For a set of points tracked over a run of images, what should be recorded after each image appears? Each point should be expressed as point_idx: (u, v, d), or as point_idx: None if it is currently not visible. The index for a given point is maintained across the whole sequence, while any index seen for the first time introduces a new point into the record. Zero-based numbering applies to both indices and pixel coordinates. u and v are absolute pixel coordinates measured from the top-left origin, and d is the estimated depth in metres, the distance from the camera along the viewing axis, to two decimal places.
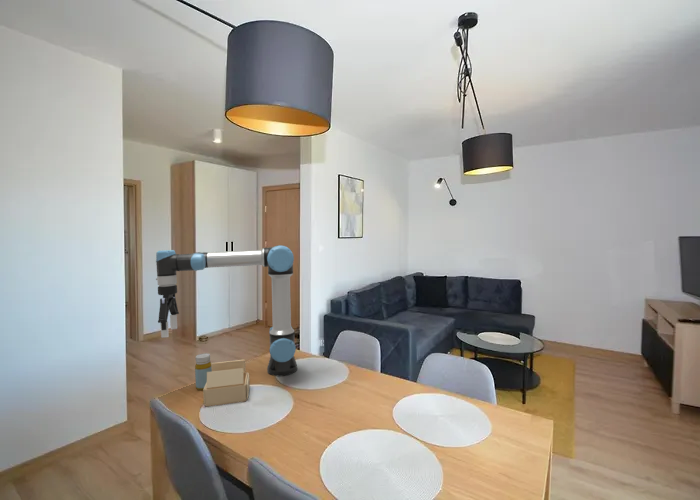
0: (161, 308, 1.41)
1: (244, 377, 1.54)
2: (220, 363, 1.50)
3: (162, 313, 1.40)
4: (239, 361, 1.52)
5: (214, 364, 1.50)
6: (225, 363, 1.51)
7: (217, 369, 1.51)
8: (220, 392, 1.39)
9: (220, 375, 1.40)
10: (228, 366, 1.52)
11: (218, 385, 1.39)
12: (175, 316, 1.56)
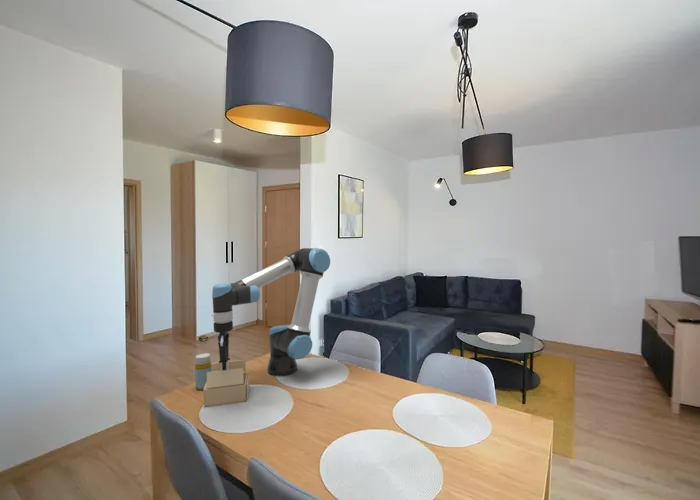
0: (221, 351, 1.37)
1: (244, 377, 1.54)
2: (220, 363, 1.50)
3: (222, 355, 1.37)
4: (239, 361, 1.52)
5: (214, 364, 1.50)
6: None
7: (217, 369, 1.51)
8: (220, 392, 1.39)
9: (220, 375, 1.40)
10: (228, 366, 1.52)
11: (218, 385, 1.39)
12: None
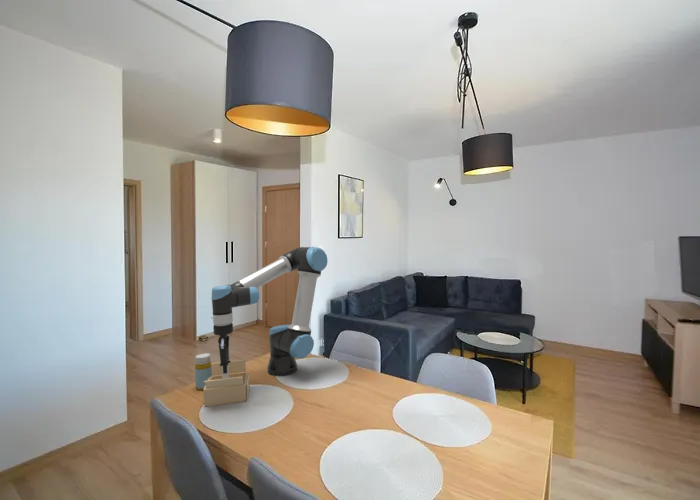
0: (221, 354, 1.35)
1: (244, 377, 1.54)
2: (220, 363, 1.50)
3: (223, 358, 1.35)
4: (239, 361, 1.52)
5: (214, 364, 1.50)
6: None
7: (217, 369, 1.51)
8: (220, 392, 1.39)
9: (218, 382, 1.36)
10: None
11: (218, 386, 1.39)
12: None
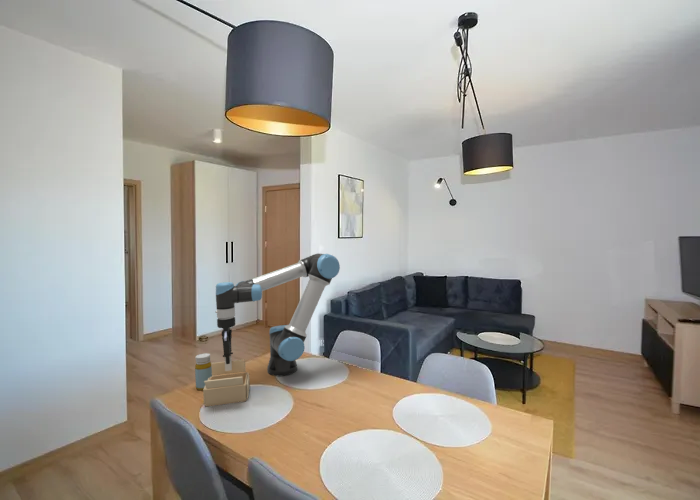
0: (224, 345, 1.45)
1: (244, 377, 1.54)
2: (220, 363, 1.50)
3: (226, 350, 1.45)
4: (239, 361, 1.52)
5: (214, 364, 1.50)
6: None
7: (217, 369, 1.51)
8: (220, 392, 1.39)
9: (218, 382, 1.36)
10: None
11: (218, 386, 1.39)
12: None
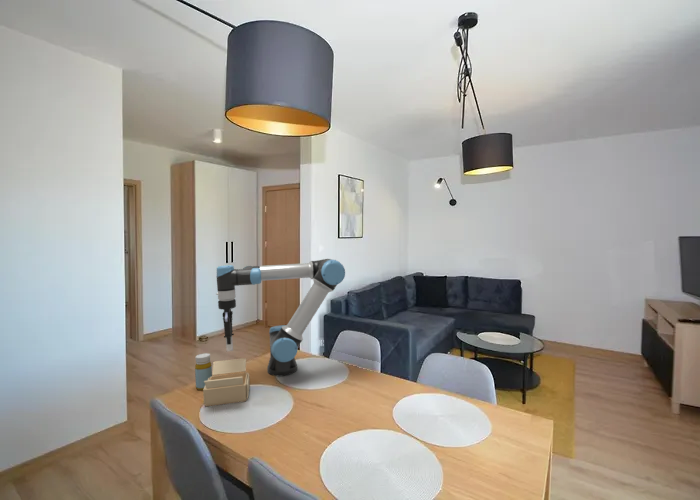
0: (225, 326, 1.49)
1: (244, 377, 1.54)
2: (222, 361, 1.56)
3: (227, 330, 1.50)
4: (240, 359, 1.58)
5: (216, 362, 1.55)
6: (227, 361, 1.56)
7: (218, 367, 1.54)
8: (220, 392, 1.39)
9: (218, 382, 1.36)
10: (229, 365, 1.55)
11: (218, 386, 1.39)
12: None
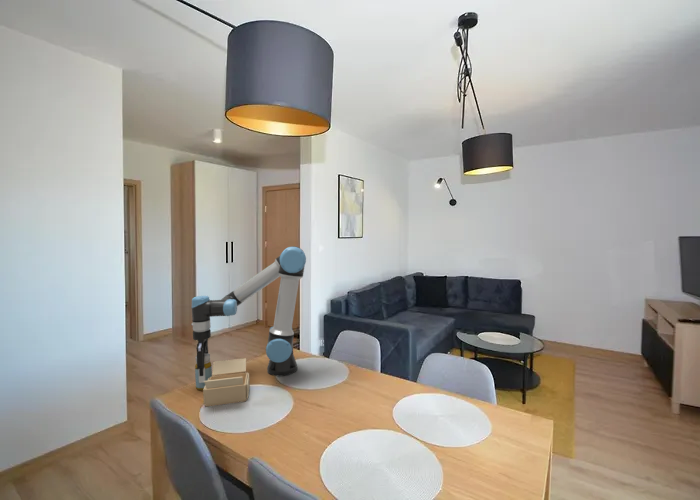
0: (198, 356, 1.50)
1: (244, 377, 1.54)
2: (222, 361, 1.56)
3: (200, 361, 1.50)
4: (240, 359, 1.58)
5: (216, 362, 1.55)
6: (227, 361, 1.56)
7: (218, 367, 1.54)
8: (220, 392, 1.39)
9: (218, 382, 1.36)
10: (229, 365, 1.55)
11: (218, 386, 1.39)
12: None
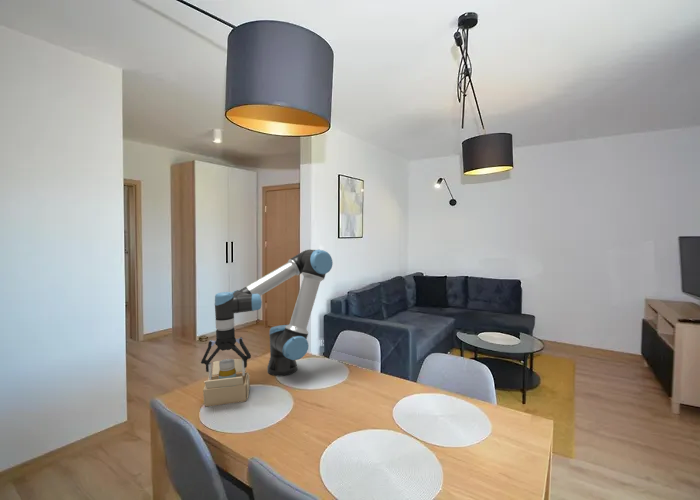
0: None
1: (244, 377, 1.54)
2: None
3: None
4: (240, 359, 1.58)
5: (216, 362, 1.55)
6: None
7: (218, 367, 1.54)
8: (220, 392, 1.39)
9: (218, 382, 1.36)
10: None
11: (218, 386, 1.39)
12: (242, 362, 1.47)
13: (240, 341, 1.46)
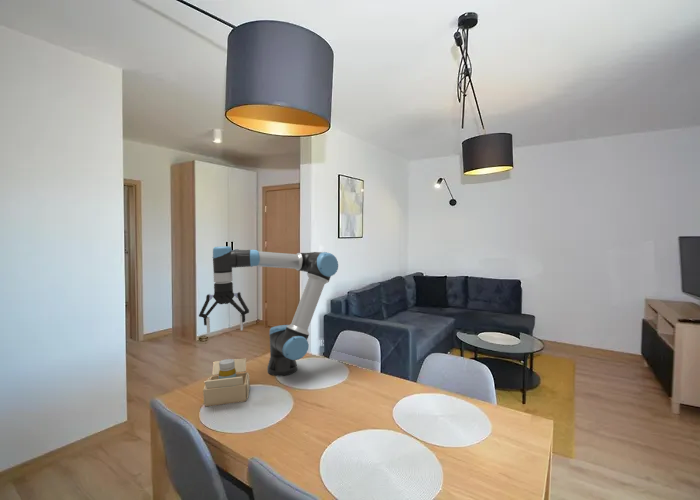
0: None
1: (244, 377, 1.54)
2: None
3: (202, 308, 1.43)
4: (240, 359, 1.58)
5: (216, 362, 1.55)
6: None
7: (218, 367, 1.54)
8: (220, 392, 1.39)
9: (218, 382, 1.36)
10: None
11: (218, 386, 1.39)
12: (240, 317, 1.46)
13: (238, 295, 1.45)
